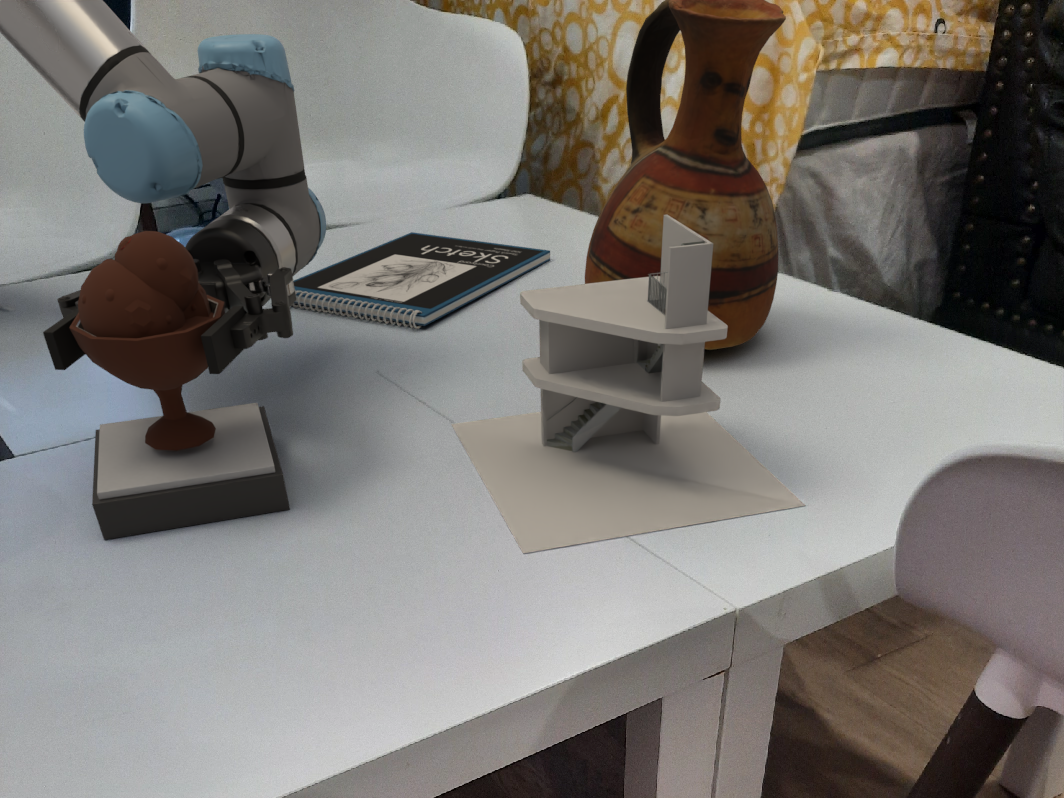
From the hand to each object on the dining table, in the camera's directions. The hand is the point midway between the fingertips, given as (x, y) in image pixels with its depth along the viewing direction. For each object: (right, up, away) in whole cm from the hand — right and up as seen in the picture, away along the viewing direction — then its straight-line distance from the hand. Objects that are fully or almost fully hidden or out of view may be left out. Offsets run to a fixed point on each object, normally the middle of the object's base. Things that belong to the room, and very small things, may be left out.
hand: (131, 353), depth 72 cm
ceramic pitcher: (+44, +15, +35) cm, 58 cm away
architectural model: (+36, -5, +13) cm, 38 cm away
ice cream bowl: (+1, -4, +8) cm, 9 cm away
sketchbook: (+14, +28, +52) cm, 60 cm away
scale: (+1, -7, +11) cm, 13 cm away
